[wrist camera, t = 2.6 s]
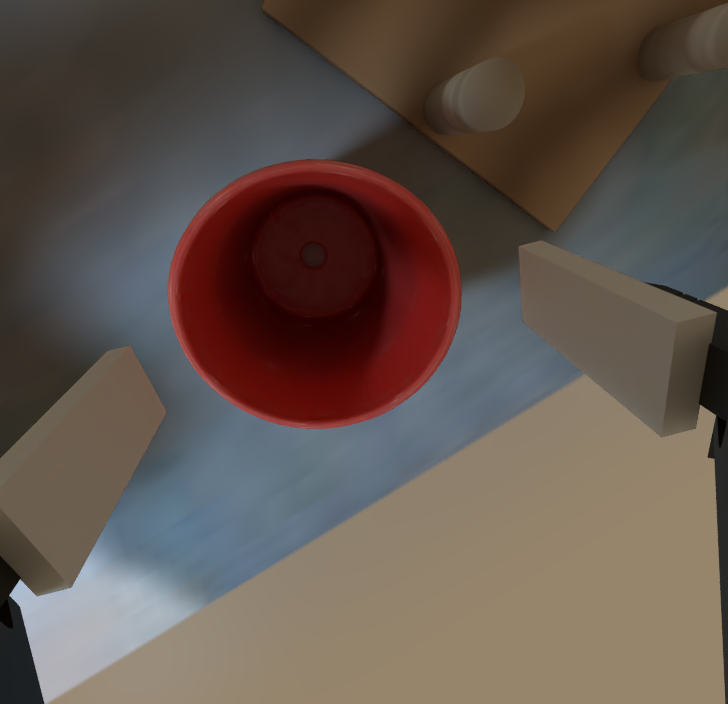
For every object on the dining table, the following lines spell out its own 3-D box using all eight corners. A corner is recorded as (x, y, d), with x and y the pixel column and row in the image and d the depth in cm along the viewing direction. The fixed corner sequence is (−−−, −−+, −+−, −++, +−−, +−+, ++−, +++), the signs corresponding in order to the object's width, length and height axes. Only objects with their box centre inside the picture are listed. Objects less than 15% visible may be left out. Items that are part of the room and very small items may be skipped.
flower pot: (244, 117, 21) (201, 97, 12) (436, 199, 24) (512, 229, 15) (198, 307, 25) (141, 394, 16) (368, 358, 28) (397, 454, 19)
